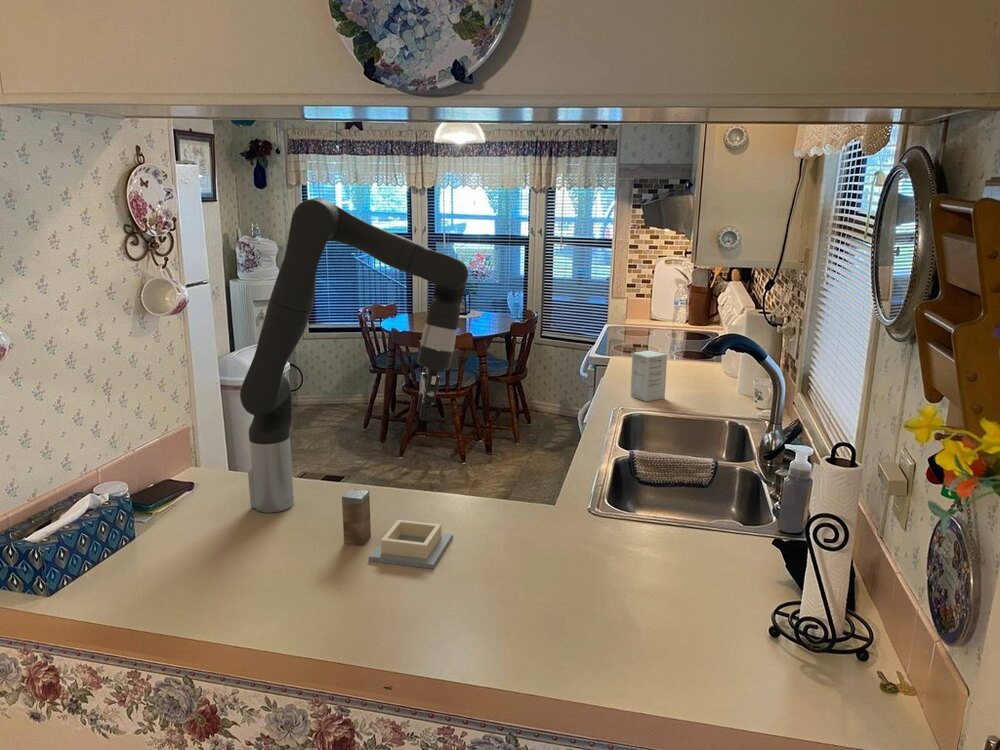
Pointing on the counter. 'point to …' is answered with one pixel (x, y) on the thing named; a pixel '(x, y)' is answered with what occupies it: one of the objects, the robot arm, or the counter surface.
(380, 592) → the counter surface
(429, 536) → the jig
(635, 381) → the supplement box
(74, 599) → the counter surface
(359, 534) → the tall grey-topped block
